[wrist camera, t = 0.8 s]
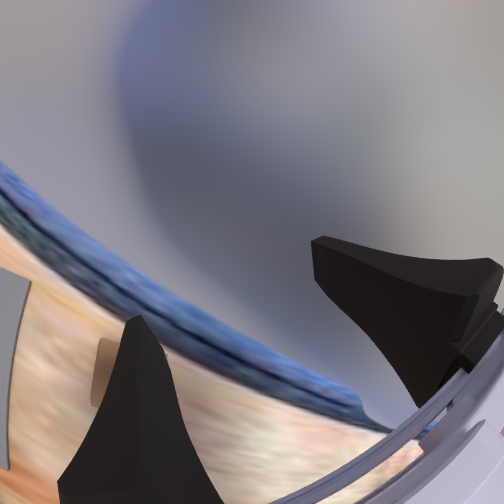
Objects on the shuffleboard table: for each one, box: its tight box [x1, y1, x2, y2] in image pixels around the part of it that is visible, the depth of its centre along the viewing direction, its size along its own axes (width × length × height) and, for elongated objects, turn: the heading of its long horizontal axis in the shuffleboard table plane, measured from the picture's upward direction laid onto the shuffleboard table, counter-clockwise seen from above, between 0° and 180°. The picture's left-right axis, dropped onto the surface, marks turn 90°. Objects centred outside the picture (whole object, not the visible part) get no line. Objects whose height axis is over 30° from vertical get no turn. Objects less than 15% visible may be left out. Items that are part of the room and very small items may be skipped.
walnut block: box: [91, 338, 167, 407], centre depth 17 cm, size 4×4×4 cm
